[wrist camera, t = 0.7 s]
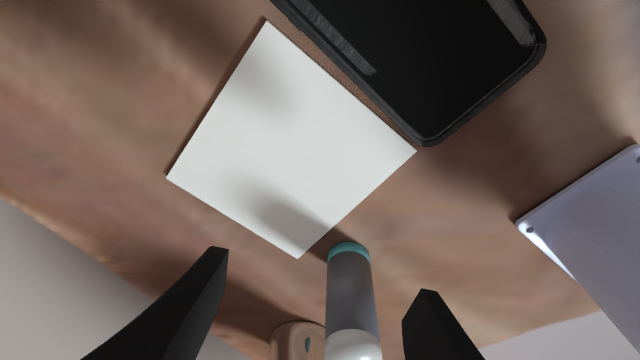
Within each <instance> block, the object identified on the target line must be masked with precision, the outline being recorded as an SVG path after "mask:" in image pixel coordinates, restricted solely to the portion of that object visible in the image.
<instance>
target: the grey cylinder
mask: <svg viewBox="0 0 640 360" xmlns="http://www.w3.org/2000/svg"><path fill="white" fill-rule="evenodd" d="M324 360H382V353H381V345H380V337H379V329H378V321H377V313H376V305H375V298H374V290H373V282H372V274H371V266H370V258H369V253H368V251H367V249H366V248H365V247H364V246H362V245H361V244H358V243H355V242H342V243H339V244H336V245H335V246H333V247H332V248H331V249H330V251H329V252H328V260H327V288H326V317H325V346H324Z"/></svg>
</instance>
